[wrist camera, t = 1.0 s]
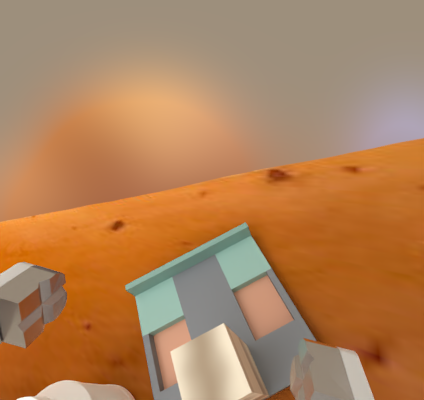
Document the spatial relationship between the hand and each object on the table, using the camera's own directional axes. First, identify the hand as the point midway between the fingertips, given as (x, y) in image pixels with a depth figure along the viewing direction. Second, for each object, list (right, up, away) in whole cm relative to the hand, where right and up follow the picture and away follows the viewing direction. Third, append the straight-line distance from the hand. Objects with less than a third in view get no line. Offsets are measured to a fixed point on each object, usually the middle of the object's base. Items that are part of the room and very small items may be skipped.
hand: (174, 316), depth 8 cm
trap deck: (+2, -16, +31) cm, 35 cm away
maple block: (+5, -20, +25) cm, 32 cm away
